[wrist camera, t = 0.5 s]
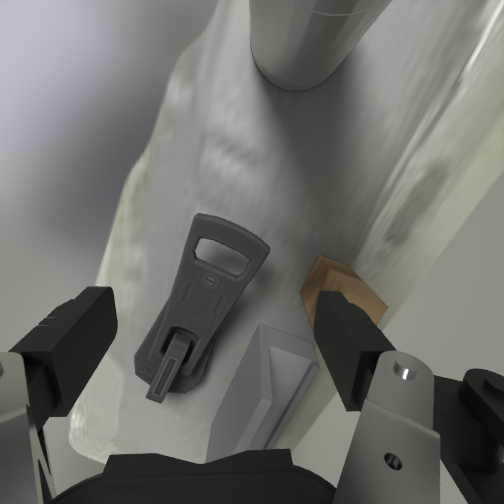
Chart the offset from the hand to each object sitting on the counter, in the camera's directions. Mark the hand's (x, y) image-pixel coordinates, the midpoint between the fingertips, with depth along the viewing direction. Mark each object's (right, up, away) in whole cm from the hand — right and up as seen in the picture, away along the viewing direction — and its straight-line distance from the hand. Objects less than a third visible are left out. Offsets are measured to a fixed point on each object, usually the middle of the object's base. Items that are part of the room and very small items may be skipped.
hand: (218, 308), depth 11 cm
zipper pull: (-5, -4, +24) cm, 25 cm away
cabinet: (+10, -1, +23) cm, 25 cm away
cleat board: (+2, -16, +27) cm, 32 cm away
